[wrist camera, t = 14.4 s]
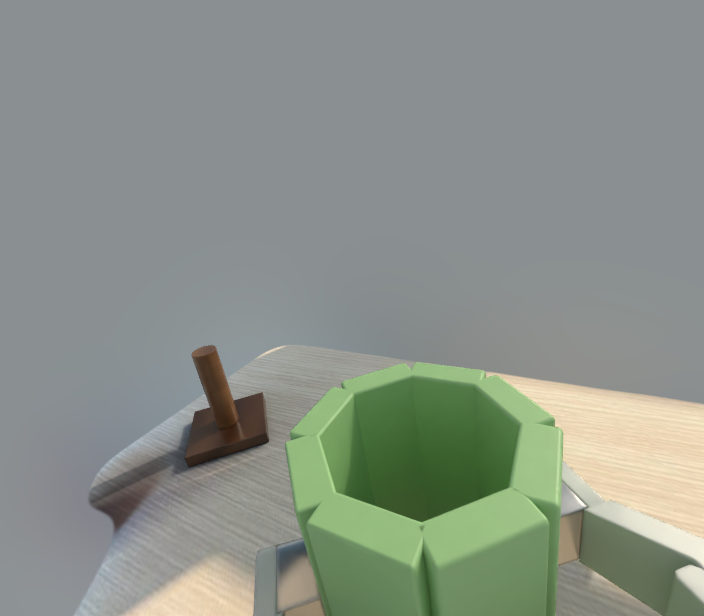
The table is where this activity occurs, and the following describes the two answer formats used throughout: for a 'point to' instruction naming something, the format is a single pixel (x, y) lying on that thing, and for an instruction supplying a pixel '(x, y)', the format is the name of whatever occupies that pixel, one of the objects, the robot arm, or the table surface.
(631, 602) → the table surface
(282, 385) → the table surface
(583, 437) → the table surface
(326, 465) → the green octagonal tube
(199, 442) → the stand
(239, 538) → the table surface
